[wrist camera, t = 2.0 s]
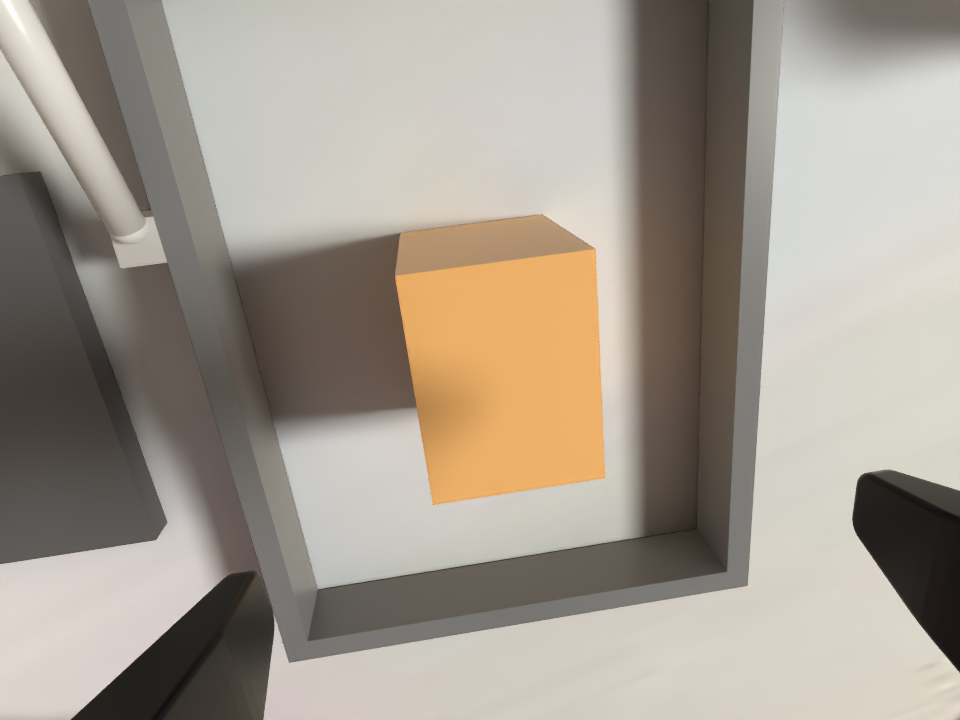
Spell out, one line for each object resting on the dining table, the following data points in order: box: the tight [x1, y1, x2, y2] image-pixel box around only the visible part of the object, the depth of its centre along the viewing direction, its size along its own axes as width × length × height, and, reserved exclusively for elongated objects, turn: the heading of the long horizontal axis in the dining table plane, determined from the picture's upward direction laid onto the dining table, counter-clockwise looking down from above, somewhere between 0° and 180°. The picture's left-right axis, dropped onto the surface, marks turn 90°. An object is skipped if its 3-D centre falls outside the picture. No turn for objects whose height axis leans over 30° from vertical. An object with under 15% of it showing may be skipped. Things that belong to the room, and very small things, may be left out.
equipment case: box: [0, 0, 784, 663], centre depth 13 cm, size 26×18×14 cm
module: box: [395, 214, 605, 505], centre depth 17 cm, size 6×4×6 cm
